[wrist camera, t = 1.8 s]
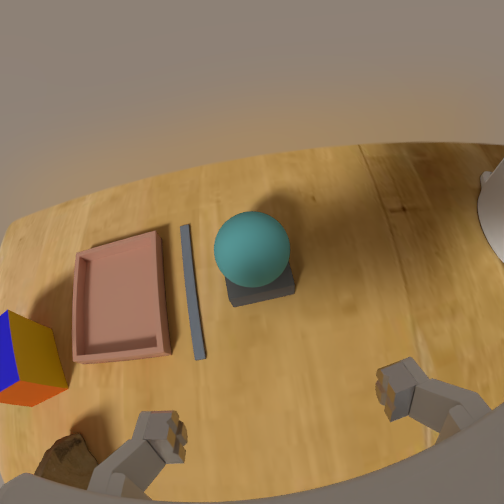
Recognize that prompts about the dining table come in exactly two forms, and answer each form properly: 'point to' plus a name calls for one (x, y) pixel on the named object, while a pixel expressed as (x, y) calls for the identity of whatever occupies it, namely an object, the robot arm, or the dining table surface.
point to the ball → (252, 249)
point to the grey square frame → (261, 290)
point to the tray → (120, 302)
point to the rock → (68, 462)
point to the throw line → (191, 294)
